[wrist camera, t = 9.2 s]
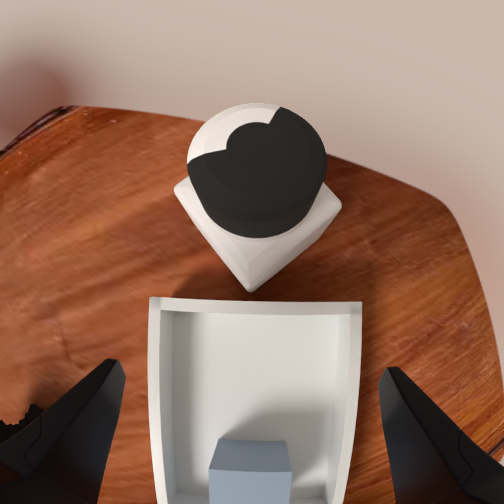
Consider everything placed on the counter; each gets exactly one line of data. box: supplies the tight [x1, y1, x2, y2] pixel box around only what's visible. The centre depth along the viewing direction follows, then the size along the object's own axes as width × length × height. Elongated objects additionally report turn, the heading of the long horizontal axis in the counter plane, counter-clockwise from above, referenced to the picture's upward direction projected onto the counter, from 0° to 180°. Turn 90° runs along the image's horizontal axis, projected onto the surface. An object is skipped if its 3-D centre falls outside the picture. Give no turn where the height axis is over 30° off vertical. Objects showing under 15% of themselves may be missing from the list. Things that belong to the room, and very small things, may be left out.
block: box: [208, 439, 293, 504], centre depth 16 cm, size 5×5×5 cm
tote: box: [148, 297, 362, 504], centre depth 18 cm, size 18×14×4 cm
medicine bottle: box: [174, 103, 342, 292], centre depth 17 cm, size 7×7×12 cm
